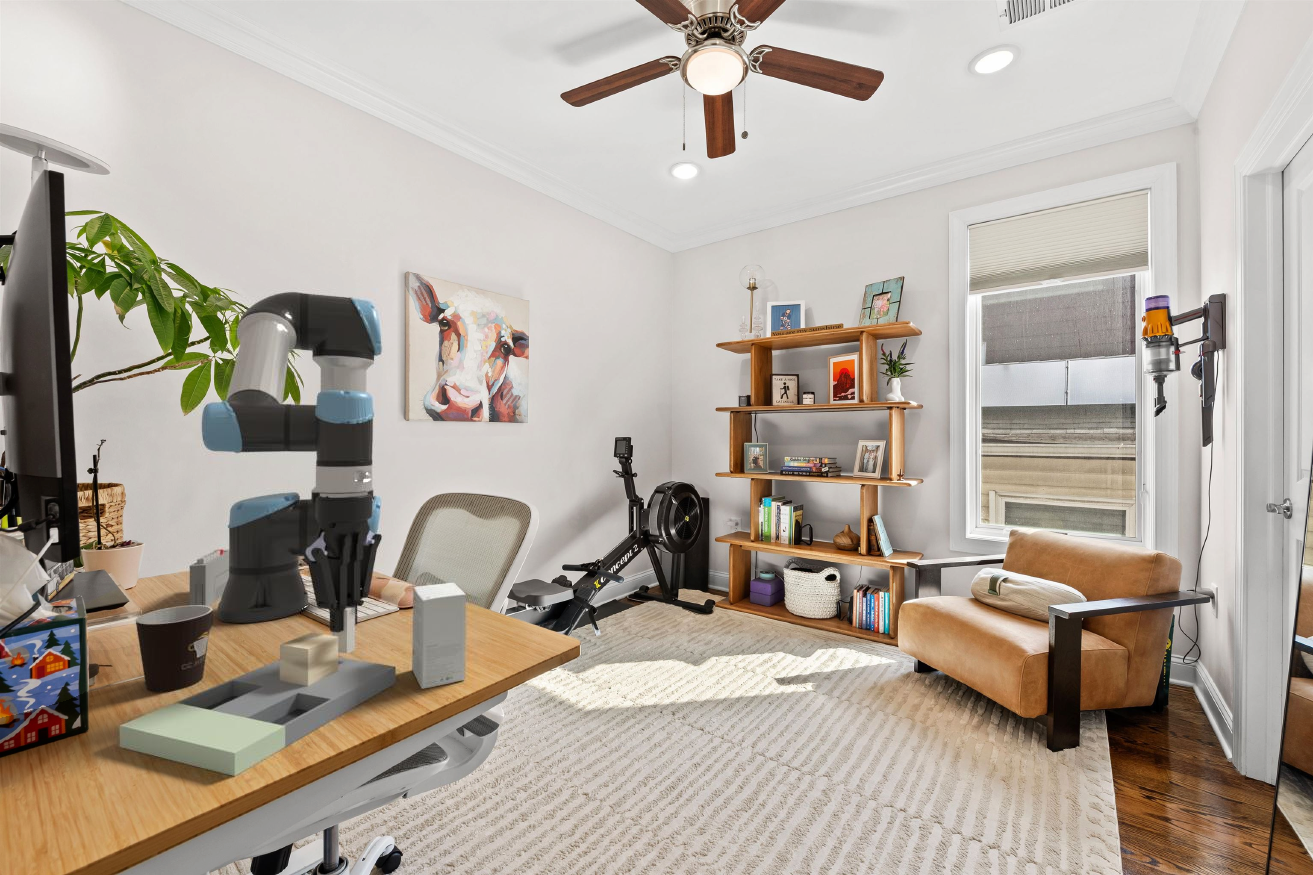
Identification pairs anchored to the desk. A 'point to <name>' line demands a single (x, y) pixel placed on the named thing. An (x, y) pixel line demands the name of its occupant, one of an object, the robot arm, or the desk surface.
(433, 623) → the small box
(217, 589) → the cassette player
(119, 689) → the desk surface
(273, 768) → the desk surface
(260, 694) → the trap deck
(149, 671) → the coffee mug
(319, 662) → the maple block
